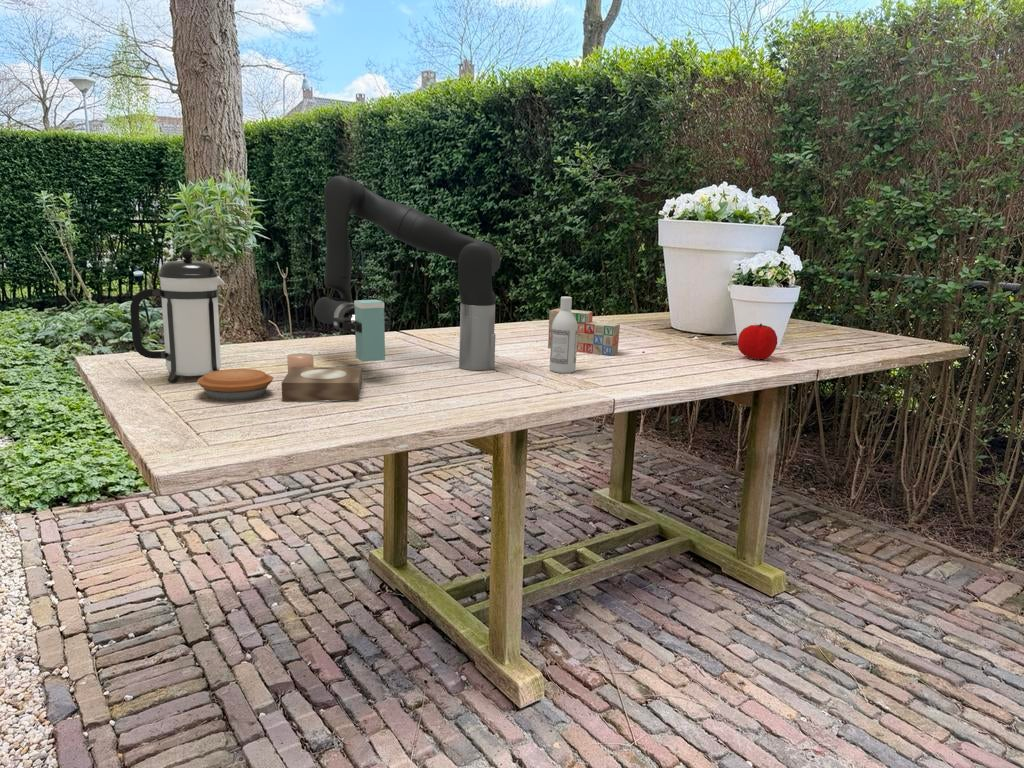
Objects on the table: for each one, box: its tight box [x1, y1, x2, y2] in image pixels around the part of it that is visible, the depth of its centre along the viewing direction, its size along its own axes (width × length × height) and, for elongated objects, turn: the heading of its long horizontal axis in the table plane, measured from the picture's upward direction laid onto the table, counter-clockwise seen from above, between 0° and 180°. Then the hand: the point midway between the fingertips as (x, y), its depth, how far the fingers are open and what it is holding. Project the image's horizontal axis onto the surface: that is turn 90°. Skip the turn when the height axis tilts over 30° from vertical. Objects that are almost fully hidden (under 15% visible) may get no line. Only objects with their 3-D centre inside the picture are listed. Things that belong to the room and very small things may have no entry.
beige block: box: [286, 352, 315, 373], centre depth 176 cm, size 6×6×6 cm
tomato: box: [737, 323, 778, 360], centre depth 227 cm, size 12×12×11 cm
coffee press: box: [129, 249, 226, 384], centre depth 171 cm, size 17×16×30 cm
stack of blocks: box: [547, 308, 621, 357], centre depth 228 cm, size 21×6×12 cm, turn 63°
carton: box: [353, 299, 386, 363], centre depth 177 cm, size 6×6×14 cm
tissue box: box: [281, 366, 363, 402], centre depth 165 cm, size 16×16×4 cm
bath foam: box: [549, 296, 578, 374], centre depth 196 cm, size 7×7×20 cm
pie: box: [197, 368, 274, 402], centre depth 161 cm, size 16×16×5 cm
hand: (373, 327), depth 175 cm, fingers closed on carton, 5 cm apart
